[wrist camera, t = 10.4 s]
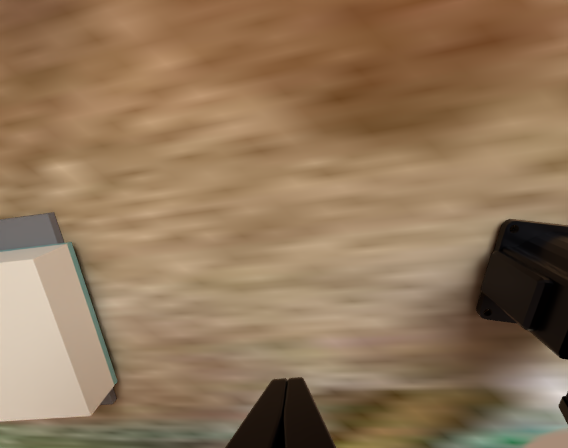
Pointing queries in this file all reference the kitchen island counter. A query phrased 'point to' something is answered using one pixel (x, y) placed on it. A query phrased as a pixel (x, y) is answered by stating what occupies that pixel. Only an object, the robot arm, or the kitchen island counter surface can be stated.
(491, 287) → the robot arm
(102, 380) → the tile
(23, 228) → the mat
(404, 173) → the kitchen island counter surface
